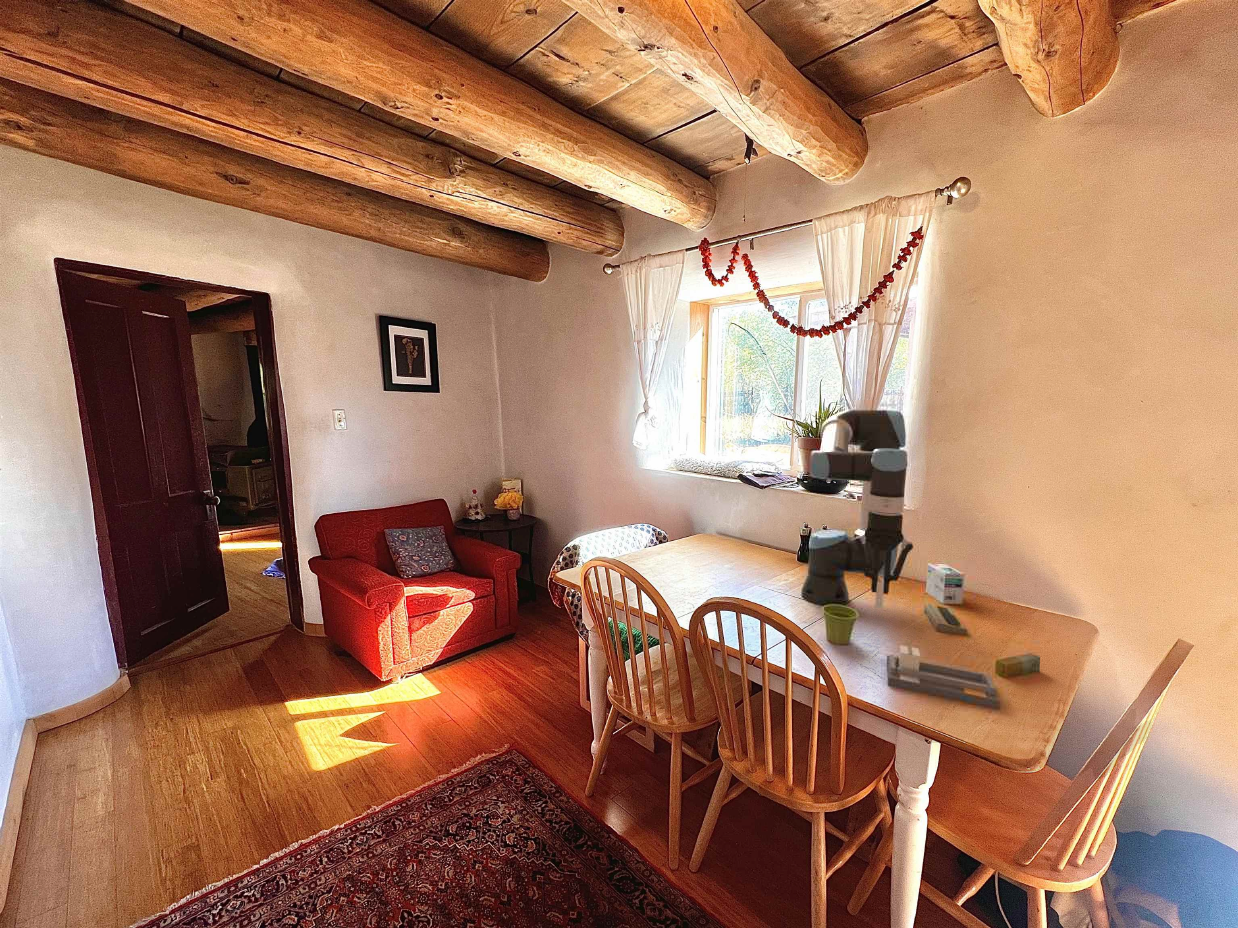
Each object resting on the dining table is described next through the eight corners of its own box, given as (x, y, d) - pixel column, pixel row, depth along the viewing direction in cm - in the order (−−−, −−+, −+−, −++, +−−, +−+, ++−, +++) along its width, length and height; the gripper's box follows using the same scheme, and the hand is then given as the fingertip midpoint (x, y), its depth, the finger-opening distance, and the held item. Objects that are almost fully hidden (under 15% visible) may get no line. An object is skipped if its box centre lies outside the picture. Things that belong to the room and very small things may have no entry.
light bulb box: (962, 604, 172) (965, 573, 171) (942, 604, 172) (945, 573, 171) (943, 592, 183) (946, 563, 181) (924, 592, 183) (927, 563, 182)
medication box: (1028, 667, 133) (1030, 652, 132) (1040, 672, 130) (1041, 657, 130) (994, 674, 129) (995, 659, 129) (1005, 679, 127) (1006, 664, 126)
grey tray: (887, 685, 123) (888, 671, 123) (886, 662, 134) (887, 649, 134) (999, 709, 114) (1001, 695, 113) (988, 683, 125) (989, 669, 124)
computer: (967, 636, 150) (968, 625, 150) (935, 632, 152) (936, 621, 152) (951, 615, 165) (952, 605, 164) (923, 612, 167) (923, 602, 167)
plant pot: (854, 635, 149) (856, 606, 148) (858, 650, 140) (860, 620, 139) (820, 630, 152) (821, 602, 151) (821, 644, 143) (823, 615, 142)
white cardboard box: (899, 671, 125) (901, 651, 125) (898, 663, 129) (900, 644, 129) (918, 674, 124) (920, 655, 123) (916, 666, 127) (918, 647, 127)
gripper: (855, 512, 124) (849, 605, 127) (917, 518, 119) (909, 615, 121) (856, 506, 131) (850, 595, 134) (915, 512, 125) (907, 604, 128)
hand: (878, 605), depth 128 cm, fingers closed
